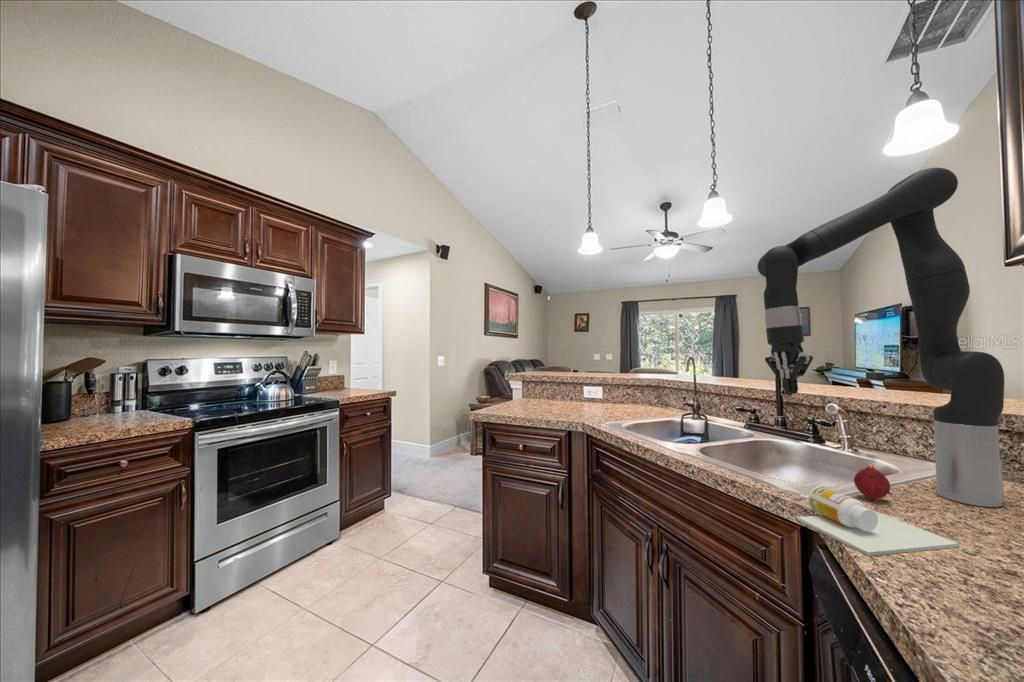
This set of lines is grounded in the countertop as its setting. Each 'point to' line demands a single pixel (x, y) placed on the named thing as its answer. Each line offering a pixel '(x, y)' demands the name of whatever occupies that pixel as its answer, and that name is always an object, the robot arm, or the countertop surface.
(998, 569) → the countertop surface
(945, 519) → the countertop surface
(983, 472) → the robot arm
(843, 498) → the supplement bottle
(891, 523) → the mat
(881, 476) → the onion
